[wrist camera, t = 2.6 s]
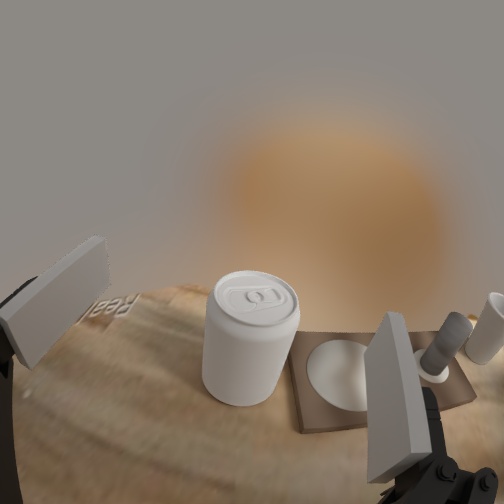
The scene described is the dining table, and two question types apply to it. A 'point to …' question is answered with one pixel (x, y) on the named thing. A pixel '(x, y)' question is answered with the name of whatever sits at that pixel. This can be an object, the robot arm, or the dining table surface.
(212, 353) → the beverage can
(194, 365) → the dining table surface
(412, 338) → the board
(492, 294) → the dixie cup
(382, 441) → the robot arm
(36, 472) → the dining table surface
